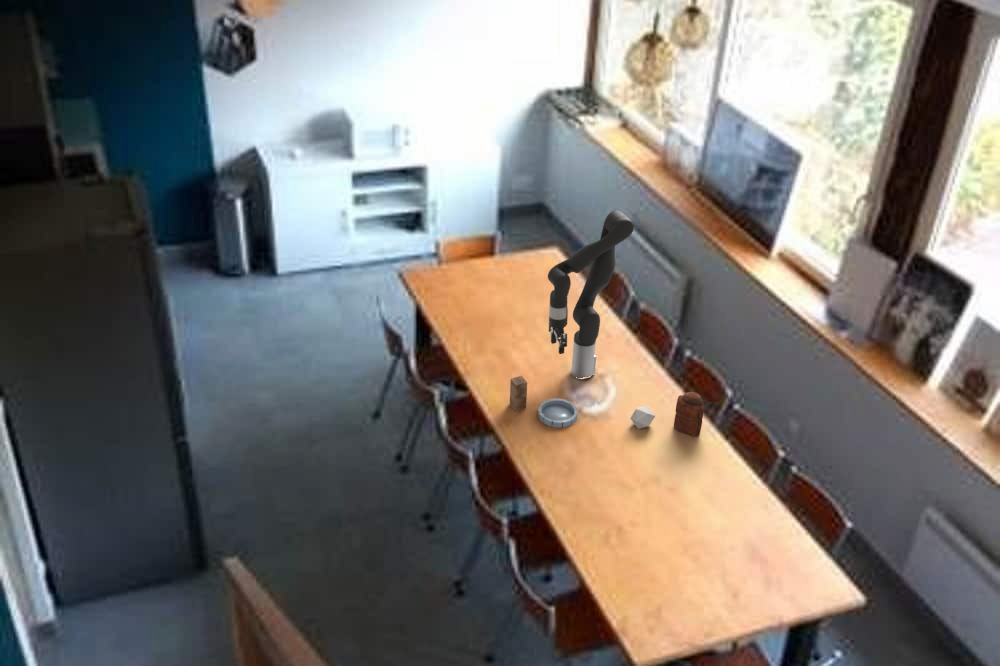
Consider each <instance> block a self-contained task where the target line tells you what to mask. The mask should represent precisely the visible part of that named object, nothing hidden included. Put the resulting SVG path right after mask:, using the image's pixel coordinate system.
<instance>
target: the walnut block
mask: <svg viewBox="0 0 1000 666" xmlns="http://www.w3.org/2000/svg"><path fill="white" fill-rule="evenodd" d="M509 390H510V391H509V405H510V407H511V408H512V409H513V411H515V412H517V411H521V410H524V409H527V400H528V399H527V396H528V381H527V380H526V379H525V378H524V376H523V375H519V376H515V377H511V378H510V388H509Z"/></svg>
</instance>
